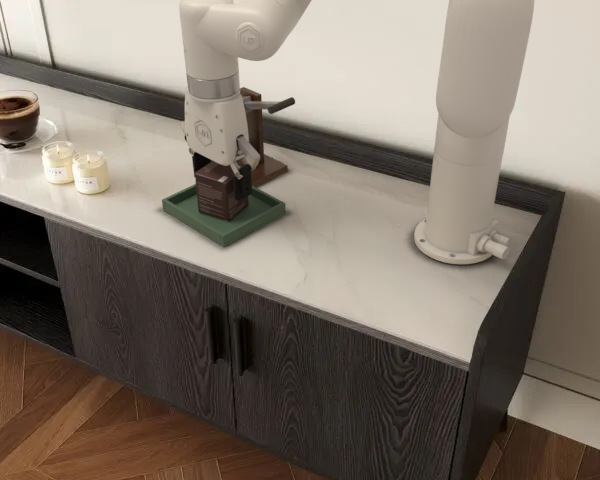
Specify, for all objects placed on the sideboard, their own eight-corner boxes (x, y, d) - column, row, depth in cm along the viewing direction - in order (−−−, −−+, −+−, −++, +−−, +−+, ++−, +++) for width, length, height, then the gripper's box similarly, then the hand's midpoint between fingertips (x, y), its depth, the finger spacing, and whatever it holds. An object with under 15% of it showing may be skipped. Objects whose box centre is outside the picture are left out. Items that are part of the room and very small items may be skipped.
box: (219, 196, 127) (216, 156, 122) (249, 205, 124) (247, 165, 120) (197, 213, 123) (193, 172, 118) (228, 223, 120) (225, 182, 115)
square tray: (285, 213, 123) (285, 202, 122) (224, 247, 116) (223, 236, 115) (224, 180, 132) (223, 170, 130) (163, 210, 124) (161, 199, 123)
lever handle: (296, 108, 122) (293, 93, 120) (274, 118, 119) (270, 103, 118) (249, 107, 130) (246, 93, 129) (227, 116, 127) (223, 102, 126)
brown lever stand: (287, 171, 134) (286, 97, 125) (250, 190, 129) (245, 114, 120) (242, 149, 140) (237, 77, 132) (204, 166, 136) (197, 92, 127)
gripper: (156, 74, 113) (170, 176, 123) (233, 108, 103) (241, 215, 114) (195, 59, 117) (206, 159, 128) (273, 91, 107) (277, 196, 118)
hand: (222, 185), depth 121 cm, fingers open, 9 cm apart
